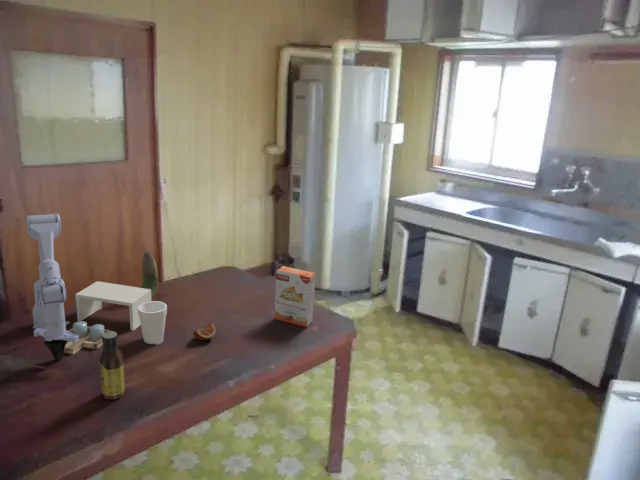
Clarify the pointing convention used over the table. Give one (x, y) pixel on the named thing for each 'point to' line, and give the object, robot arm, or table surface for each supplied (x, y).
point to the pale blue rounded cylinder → (80, 329)
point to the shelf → (111, 299)
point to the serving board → (83, 343)
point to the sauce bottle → (111, 367)
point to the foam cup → (152, 321)
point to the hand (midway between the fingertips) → (58, 359)
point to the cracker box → (294, 296)
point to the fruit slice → (205, 332)
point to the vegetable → (149, 273)
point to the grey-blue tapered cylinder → (96, 332)
